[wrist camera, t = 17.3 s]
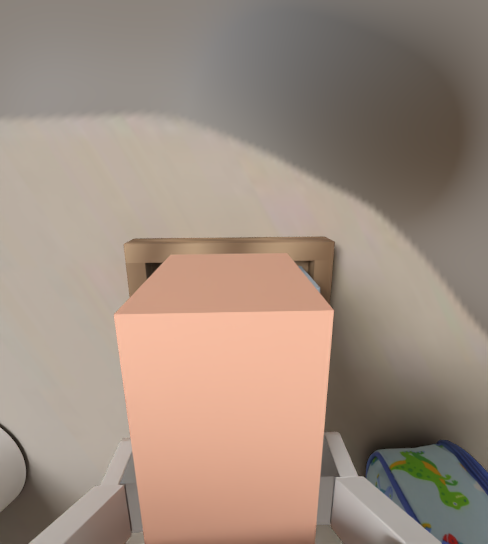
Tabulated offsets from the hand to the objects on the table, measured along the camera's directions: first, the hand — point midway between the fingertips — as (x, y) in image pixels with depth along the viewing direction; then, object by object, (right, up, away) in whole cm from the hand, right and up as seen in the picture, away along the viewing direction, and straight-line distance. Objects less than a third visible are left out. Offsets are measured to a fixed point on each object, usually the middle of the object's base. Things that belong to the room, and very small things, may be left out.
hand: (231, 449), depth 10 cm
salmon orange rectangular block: (0, +1, +2) cm, 2 cm away
